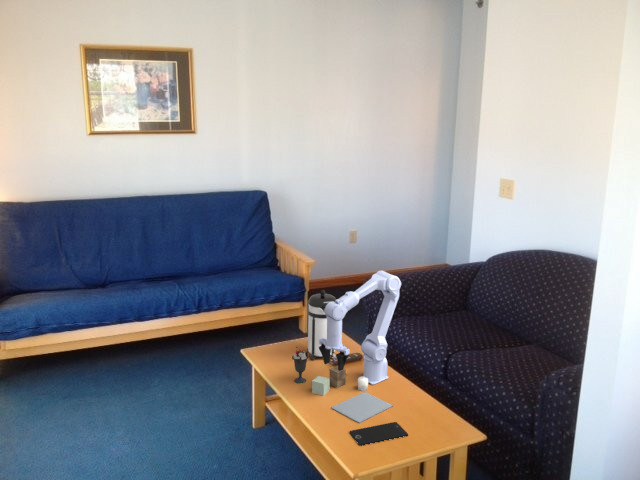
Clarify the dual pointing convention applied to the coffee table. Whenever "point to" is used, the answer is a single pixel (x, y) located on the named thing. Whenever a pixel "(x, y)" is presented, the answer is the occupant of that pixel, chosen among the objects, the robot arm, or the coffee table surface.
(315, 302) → the coffee press
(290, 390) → the coffee table surface
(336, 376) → the walnut block
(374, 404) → the slate board
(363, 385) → the cream rounded cylinder
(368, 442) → the cell phone
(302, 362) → the sundae
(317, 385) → the sage block
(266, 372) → the coffee table surface
